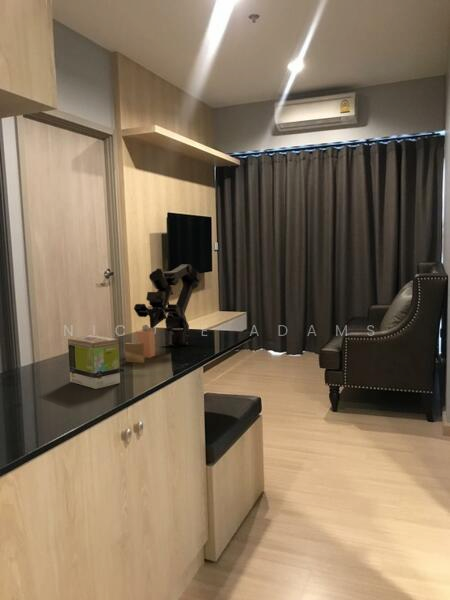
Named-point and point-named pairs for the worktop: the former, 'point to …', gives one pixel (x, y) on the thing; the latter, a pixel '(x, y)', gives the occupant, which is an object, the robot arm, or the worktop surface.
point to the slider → (147, 341)
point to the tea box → (94, 361)
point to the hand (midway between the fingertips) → (151, 327)
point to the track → (134, 352)
